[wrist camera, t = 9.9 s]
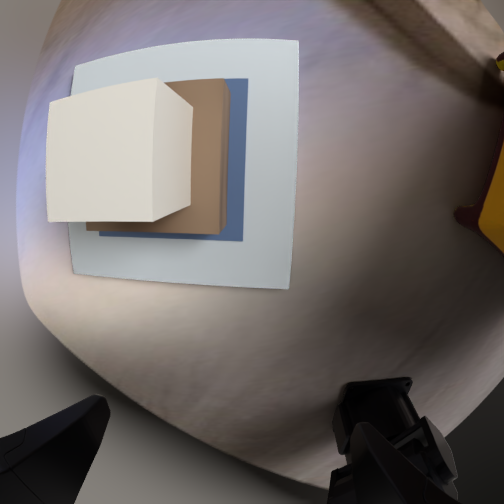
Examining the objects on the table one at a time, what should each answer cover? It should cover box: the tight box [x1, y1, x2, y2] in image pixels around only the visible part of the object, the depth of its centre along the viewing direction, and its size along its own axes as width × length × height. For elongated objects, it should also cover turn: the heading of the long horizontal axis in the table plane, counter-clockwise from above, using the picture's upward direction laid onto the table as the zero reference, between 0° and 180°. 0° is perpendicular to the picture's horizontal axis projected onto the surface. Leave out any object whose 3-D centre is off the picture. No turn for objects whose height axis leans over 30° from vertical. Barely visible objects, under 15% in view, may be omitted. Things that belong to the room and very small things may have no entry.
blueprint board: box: [68, 39, 299, 289], centre depth 15 cm, size 16×16×4 cm
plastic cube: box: [46, 78, 193, 222], centre depth 11 cm, size 5×5×5 cm
